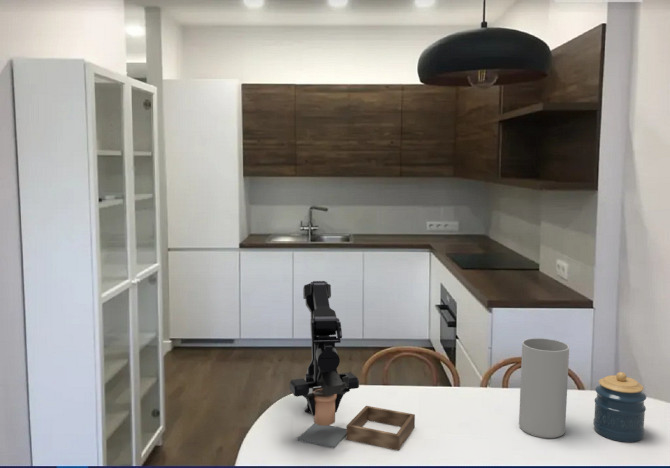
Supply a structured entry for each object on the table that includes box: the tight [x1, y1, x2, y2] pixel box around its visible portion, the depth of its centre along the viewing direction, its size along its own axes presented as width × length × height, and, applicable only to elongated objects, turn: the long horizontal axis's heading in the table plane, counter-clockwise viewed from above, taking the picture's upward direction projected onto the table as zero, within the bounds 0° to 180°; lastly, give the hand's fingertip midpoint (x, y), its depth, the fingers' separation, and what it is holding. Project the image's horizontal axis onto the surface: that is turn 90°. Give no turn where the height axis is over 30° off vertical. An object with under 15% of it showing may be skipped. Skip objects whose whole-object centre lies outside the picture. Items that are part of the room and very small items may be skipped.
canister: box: [593, 371, 647, 443], centre depth 162 cm, size 13×13×18 cm
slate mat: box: [297, 422, 347, 449], centre depth 160 cm, size 11×11×1 cm
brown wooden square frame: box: [345, 405, 416, 451], centre depth 161 cm, size 15×15×4 cm
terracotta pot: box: [313, 389, 337, 426], centre depth 159 cm, size 7×7×8 cm
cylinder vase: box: [518, 337, 570, 439], centre depth 164 cm, size 12×12×25 cm
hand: (324, 413), depth 159 cm, fingers closed on terracotta pot, 6 cm apart
